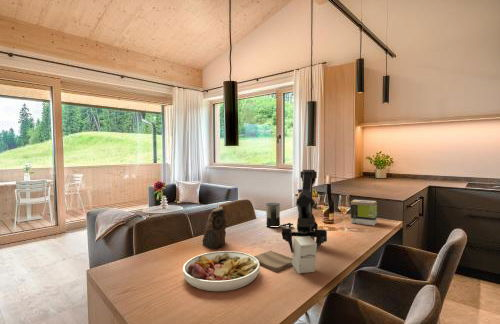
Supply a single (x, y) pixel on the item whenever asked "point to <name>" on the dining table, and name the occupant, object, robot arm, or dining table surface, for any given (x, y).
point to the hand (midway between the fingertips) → (303, 253)
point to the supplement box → (304, 254)
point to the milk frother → (274, 215)
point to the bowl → (221, 270)
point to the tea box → (364, 212)
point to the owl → (215, 229)
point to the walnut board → (274, 261)
